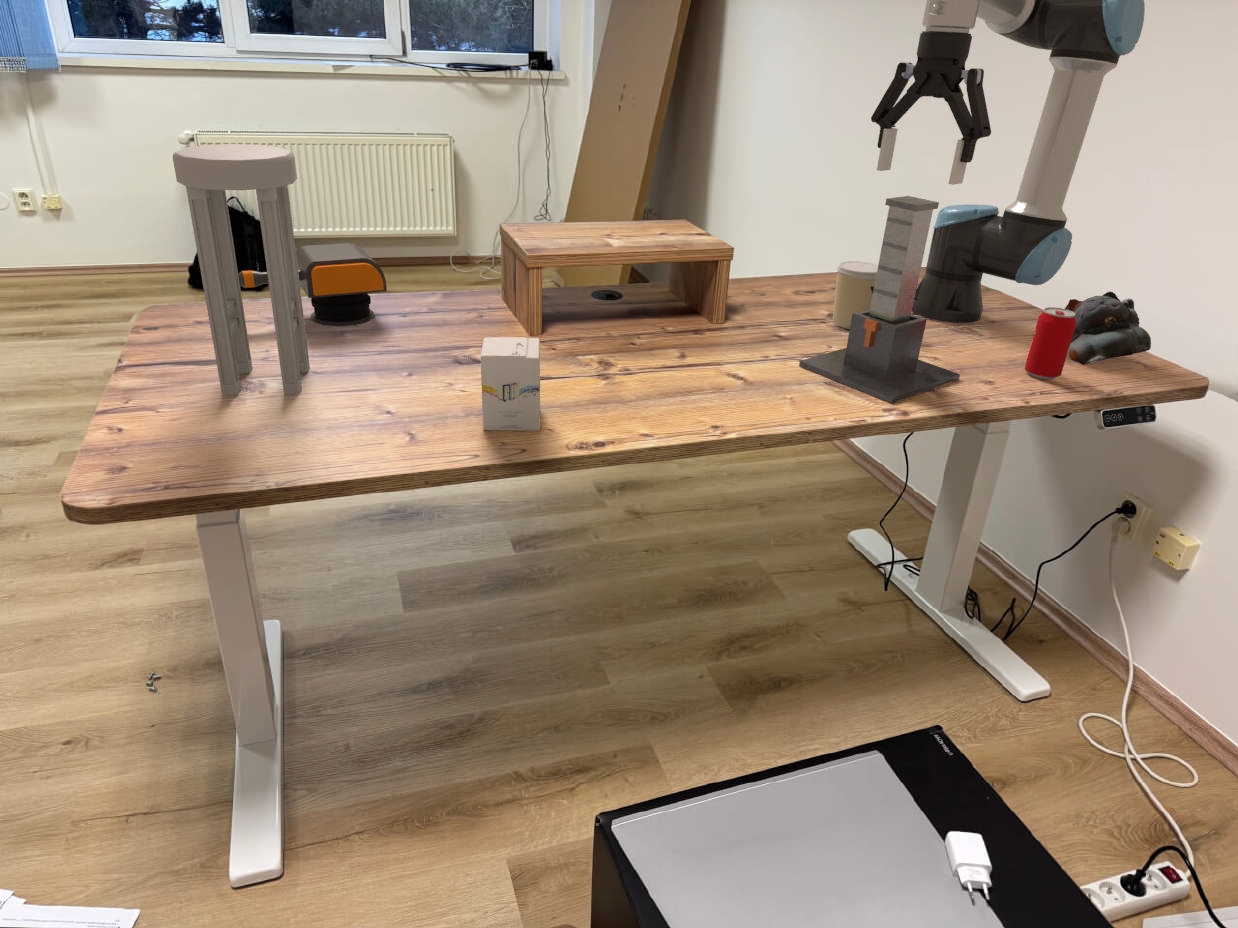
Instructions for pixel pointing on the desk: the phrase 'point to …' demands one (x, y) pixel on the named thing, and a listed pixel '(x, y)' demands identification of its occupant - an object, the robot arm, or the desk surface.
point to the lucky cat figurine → (1105, 329)
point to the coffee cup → (853, 290)
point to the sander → (333, 282)
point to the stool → (206, 185)
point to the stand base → (882, 360)
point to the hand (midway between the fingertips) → (918, 177)
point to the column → (901, 258)
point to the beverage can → (1050, 343)
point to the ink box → (510, 383)
